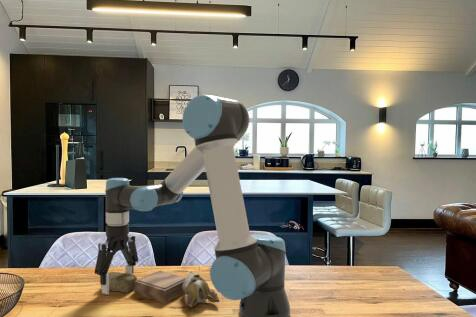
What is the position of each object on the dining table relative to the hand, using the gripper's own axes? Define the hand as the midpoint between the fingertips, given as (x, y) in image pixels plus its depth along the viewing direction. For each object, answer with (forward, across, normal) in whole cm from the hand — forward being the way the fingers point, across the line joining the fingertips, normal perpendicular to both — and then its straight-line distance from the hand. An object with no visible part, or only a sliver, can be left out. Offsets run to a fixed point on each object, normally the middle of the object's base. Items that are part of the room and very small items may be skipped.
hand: (117, 288), depth 122 cm
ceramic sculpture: (0, -8, +28) cm, 30 cm away
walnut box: (0, -7, +14) cm, 16 cm away
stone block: (+1, -1, 0) cm, 1 cm away
